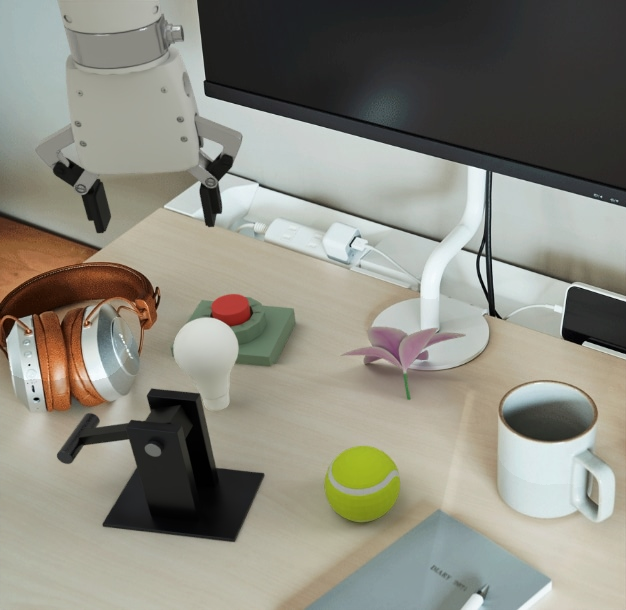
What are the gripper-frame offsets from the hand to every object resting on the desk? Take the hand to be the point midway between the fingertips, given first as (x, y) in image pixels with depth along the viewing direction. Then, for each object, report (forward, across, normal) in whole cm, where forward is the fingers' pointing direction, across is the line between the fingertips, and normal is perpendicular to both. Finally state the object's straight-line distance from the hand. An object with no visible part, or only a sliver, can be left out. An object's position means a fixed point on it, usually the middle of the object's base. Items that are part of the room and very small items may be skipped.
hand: (158, 222), depth 85 cm
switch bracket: (+20, -1, +16) cm, 26 cm away
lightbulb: (+21, -3, +3) cm, 21 cm away
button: (+17, -4, -8) cm, 19 cm away
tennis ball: (+21, -17, +19) cm, 33 cm away
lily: (+21, -22, +1) cm, 30 cm away
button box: (+20, -4, -8) cm, 22 cm away
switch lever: (+13, +2, +15) cm, 20 cm away
